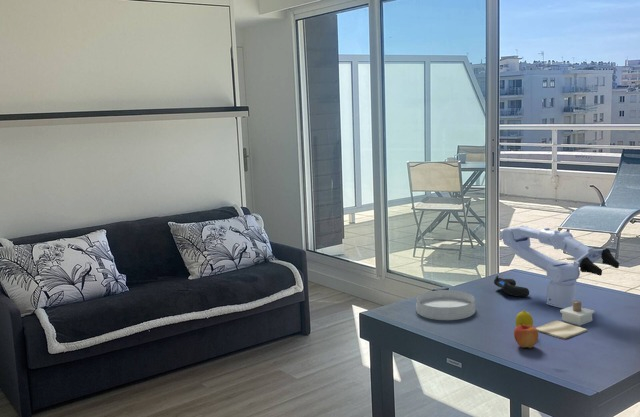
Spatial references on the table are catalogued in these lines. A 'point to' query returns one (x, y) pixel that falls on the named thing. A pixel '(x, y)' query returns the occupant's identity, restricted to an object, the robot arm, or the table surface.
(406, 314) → the table surface
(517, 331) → the apple
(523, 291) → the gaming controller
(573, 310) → the lid
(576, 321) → the storage box
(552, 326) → the birch board
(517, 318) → the lemon
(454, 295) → the dish
